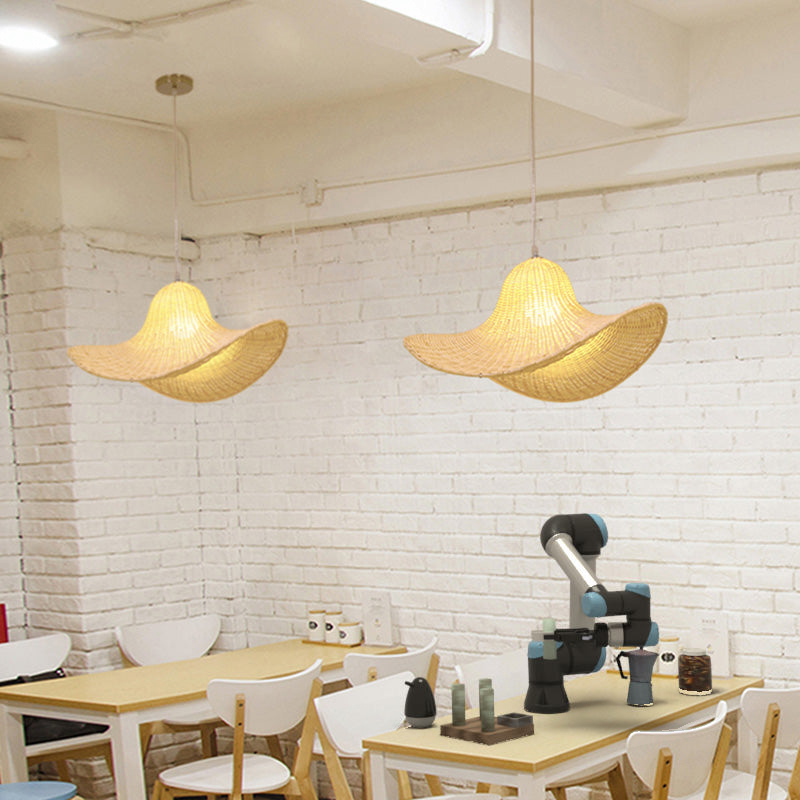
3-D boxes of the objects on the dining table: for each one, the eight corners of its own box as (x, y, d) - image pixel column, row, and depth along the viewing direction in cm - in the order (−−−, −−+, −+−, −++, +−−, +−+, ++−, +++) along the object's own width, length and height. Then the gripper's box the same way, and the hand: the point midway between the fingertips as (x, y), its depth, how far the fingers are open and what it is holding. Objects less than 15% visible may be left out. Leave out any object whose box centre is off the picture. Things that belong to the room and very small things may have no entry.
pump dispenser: (398, 725, 371) (397, 676, 372) (427, 721, 375) (426, 673, 376) (413, 731, 362) (412, 681, 363) (442, 727, 366) (441, 677, 367)
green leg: (540, 658, 364) (540, 619, 365) (551, 656, 366) (550, 618, 367) (548, 659, 361) (547, 620, 361) (559, 658, 363) (558, 619, 363)
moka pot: (666, 705, 392) (664, 645, 394) (624, 709, 388) (622, 647, 390) (653, 700, 401) (651, 641, 403) (612, 703, 397) (610, 644, 399)
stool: (440, 735, 355) (439, 685, 356) (485, 724, 368) (484, 676, 369) (488, 745, 340) (487, 692, 341) (534, 734, 354) (532, 683, 355)
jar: (719, 693, 412) (718, 650, 413) (696, 697, 406) (694, 653, 407) (695, 688, 422) (693, 646, 423) (671, 692, 416) (670, 649, 417)
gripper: (611, 651, 354) (534, 652, 355) (604, 642, 371) (530, 643, 372) (611, 626, 355) (533, 627, 356) (603, 618, 372) (529, 619, 373)
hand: (532, 635), depth 364 cm, fingers closed on green leg, 4 cm apart
